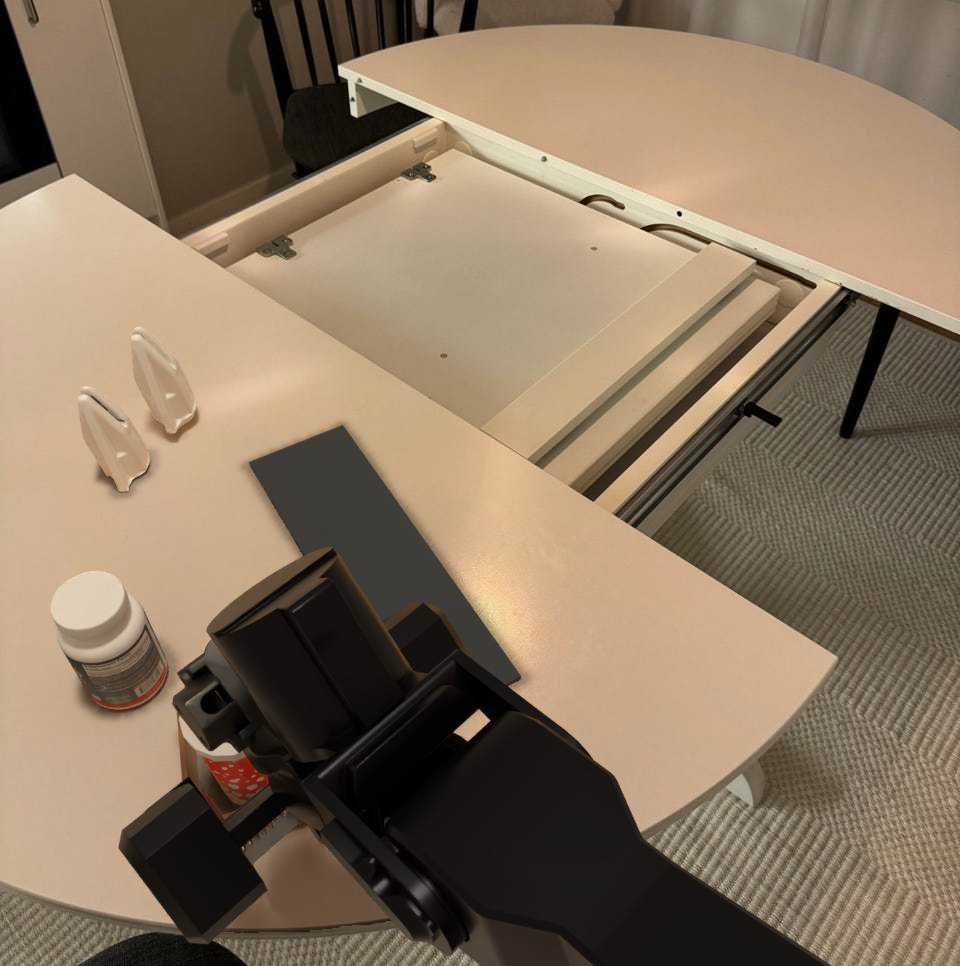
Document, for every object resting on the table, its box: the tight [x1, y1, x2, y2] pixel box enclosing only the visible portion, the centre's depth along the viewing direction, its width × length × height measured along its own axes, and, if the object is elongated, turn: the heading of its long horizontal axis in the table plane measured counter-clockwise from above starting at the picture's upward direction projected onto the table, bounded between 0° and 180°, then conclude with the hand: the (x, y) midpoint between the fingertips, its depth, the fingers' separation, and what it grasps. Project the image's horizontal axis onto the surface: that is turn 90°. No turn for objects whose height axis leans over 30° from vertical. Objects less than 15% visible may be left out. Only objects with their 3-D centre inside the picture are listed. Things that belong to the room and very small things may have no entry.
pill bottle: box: [49, 570, 168, 710], centre depth 66 cm, size 6×6×10 cm
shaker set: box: [77, 326, 198, 493], centre depth 81 cm, size 12×4×11 cm, turn 152°
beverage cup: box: [179, 716, 269, 807], centre depth 59 cm, size 6×6×14 cm
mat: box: [248, 424, 522, 687], centre depth 76 cm, size 30×9×1 cm, turn 31°
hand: (265, 736), depth 55 cm, fingers open, 9 cm apart
